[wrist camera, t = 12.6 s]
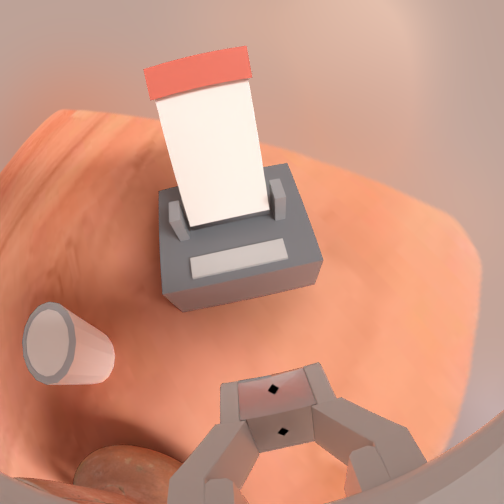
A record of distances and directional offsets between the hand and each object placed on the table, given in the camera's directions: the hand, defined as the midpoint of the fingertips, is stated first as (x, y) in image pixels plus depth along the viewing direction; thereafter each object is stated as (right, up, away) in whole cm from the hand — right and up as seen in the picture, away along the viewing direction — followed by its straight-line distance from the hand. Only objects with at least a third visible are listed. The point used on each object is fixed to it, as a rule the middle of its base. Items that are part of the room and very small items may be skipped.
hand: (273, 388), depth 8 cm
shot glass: (-16, -6, +15) cm, 23 cm away
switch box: (-2, +4, +19) cm, 19 cm away
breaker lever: (-2, +7, +13) cm, 15 cm away
